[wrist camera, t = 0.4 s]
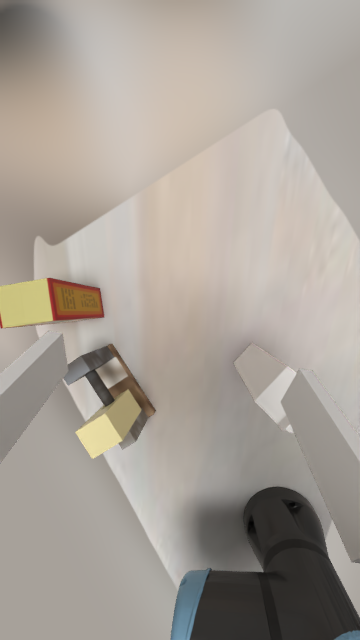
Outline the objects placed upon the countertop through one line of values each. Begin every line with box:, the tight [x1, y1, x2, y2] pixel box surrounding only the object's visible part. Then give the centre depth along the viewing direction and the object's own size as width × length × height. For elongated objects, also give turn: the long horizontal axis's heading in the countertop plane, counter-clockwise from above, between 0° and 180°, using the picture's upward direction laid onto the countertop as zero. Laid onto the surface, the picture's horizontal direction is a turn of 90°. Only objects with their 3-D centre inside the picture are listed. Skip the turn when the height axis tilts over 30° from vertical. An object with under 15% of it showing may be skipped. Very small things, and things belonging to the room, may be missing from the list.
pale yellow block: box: [75, 389, 141, 459], centre depth 37 cm, size 5×6×10 cm
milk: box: [233, 343, 297, 433], centre depth 33 cm, size 6×6×22 cm
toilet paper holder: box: [64, 344, 155, 450], centre depth 42 cm, size 18×6×12 cm, turn 34°
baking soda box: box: [0, 278, 104, 328], centre depth 40 cm, size 10×6×16 cm
